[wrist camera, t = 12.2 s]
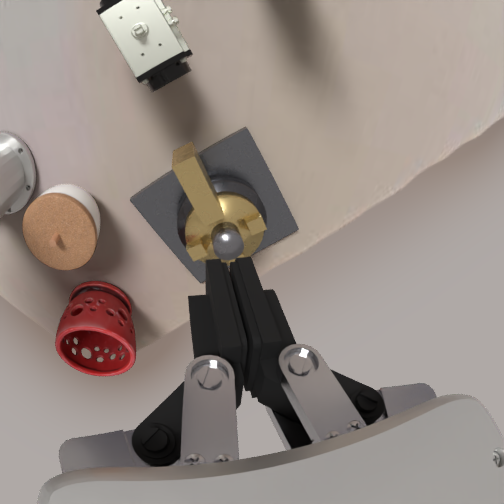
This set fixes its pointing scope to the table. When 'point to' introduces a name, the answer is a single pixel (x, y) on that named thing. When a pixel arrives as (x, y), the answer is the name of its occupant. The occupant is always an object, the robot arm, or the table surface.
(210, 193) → the gold slotted fixture
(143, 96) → the table surface
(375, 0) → the table surface
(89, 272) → the table surface
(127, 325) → the plant pot
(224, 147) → the housing
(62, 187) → the lidded jar
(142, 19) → the pneumatic valve
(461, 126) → the table surface
